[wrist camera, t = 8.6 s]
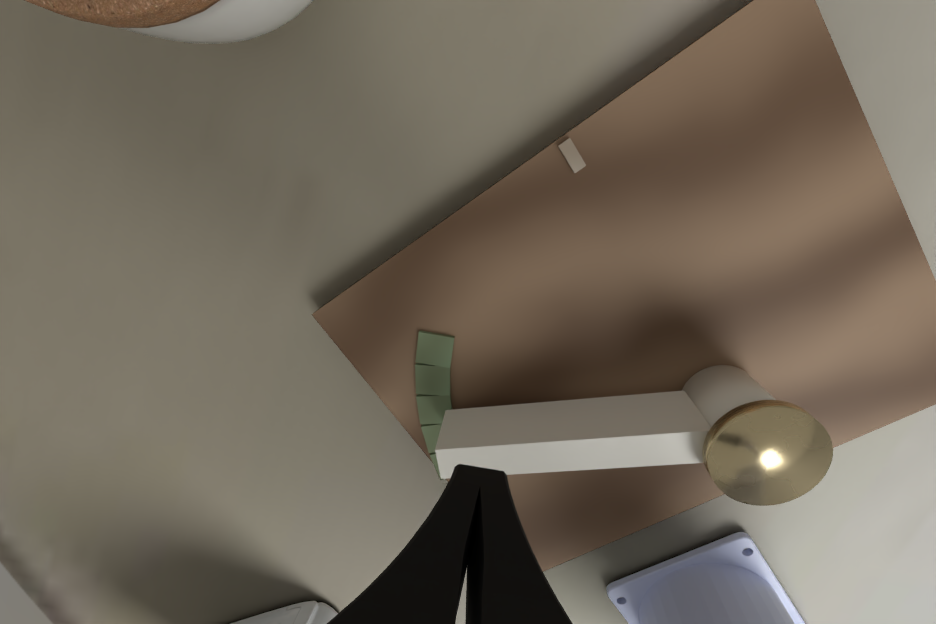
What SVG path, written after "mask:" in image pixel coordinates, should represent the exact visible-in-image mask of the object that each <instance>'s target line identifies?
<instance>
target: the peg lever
mask: <svg viewBox="0 0 936 624" xmlns="http://www.w3.org/2000/svg"><path fill="white" fill-rule="evenodd" d="M435 452H436V457H437V462H438V467H439V472H440V477H441V479H446V478H451V476H452V473H453V471H454V467H455V466H457V465H458V464H464V465H470V466H476V467H482V468H488V469H494V470H500V471H504V472H505V473H506V475H512V474H528V473H545V472H561V471H578V470H594V469H610V468H627V467H643V466H660V465H676V464H693V463H704V465H705V467H706V470H707V471H708V473H709V475H710V476H711V478H712V479H713V481H714V483H715V484H716V486H717V487H718V488H719V489H720V490H721V491H722V492H723V493H724V494H726V495H727V496H729V497H730V498H732V499H734V500H736V501H739V502H742V503H746V504H750V505H776V504H781V503H785V502H788V501H791V500H793V499H796V498H798V497H800V496H802V495H804V494H805V493H807V492H808V491H810V490H811V489H812V488H814V487H815V486H816V485H817V484H818V483H819V482H820V481H821V480H822V478H823V477H824V476H825V474H826V473H827V471H828V469H829V467H830V464H831V461H832V456H833V446H832V441H831V438H830V436H829V434H828V432H827V430H826V429H825V428H824V426H823V425H822V424H821V423H820V422H818V421H817V420H816V419H815V418H814V417H813V416H812V415H810V414H809V413H808V412H807V411H805V410H804V409H803V408H801V407H799V406H797V405H795V404H792V403H789V402H785V401H780V400H776V399H775V398H774V397H773V396H772V395H771V394H770V393H769V392H767V391H766V390H765V389H764V388H763V387H762V386H761V385H760V384H759V383H758V382H757V381H755V380H754V379H753V378H752V377H751V376H750V375H749V374H748V373H747V372H745V371H744V370H742V369H740V368H737V367H734V366H730V365H717V366H712V367H708V368H705V369H703V370H701V371H699V372H697V373H696V374H694V375H693V376H692V377H691V378H690V379H689V380H688V381H687V382H686V384H685V385H684V387H683V389H682V391H671V392H659V393H647V394H635V395H623V396H611V397H599V398H586V399H574V400H562V401H550V402H538V403H526V404H514V405H501V406H489V407H477V408H465V409H453V410H446V411H445V414H444V418H443V422H442V426H441V429H440V433H439V437H438V441H437V444H436V448H435Z"/></svg>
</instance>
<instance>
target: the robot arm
mask: <svg viewBox="0 0 936 624" xmlns="http://www.w3.org/2000/svg"><path fill="white" fill-rule="evenodd" d="M745 548H747V549H745ZM744 549H745V550H744ZM466 568H467V591H466V624H572V622H571V620H570V619H569V617H568V616H567V614H566V612H565V611H564V609H563V607H562V606H561V604H560V602H559V601H558V599H557V597H556V595H555V594H554V592H553V590H552V588H551V587H550V585H549V583H548V581H547V579H546V577H545V575H544V573H543V571H542V569H541V567H540V565H539V563H538V561H537V559H536V557H535V555H534V553H533V551H532V548H531V546H530V544H529V541H528V539H527V537H526V534H525V532H524V529H523V527H522V524H521V521H520V519H519V516H518V513H517V511H516V508H515V504H514V501H513V498H512V495H511V491H510V488H509V483H508V478H507V475H506V473H505V472H504V471H500V470H494V469H488V468H482V467H476V466H470V465H464V464H458V465H457V466H455V467H454V471H453V473H452V476H451V478H450V480H449V482H448V484H447V486H446V488H445V490H444V492H443V493H442V495H441V497H440V499H439V500H438V502H437V503H436V505H435V506H434V508H433V510H432V511H431V513H430V514H429V516H428V517H427V519H426V520H425V521H424V523H423V524H422V525H421V527H420V528H419V530H418V531H417V532H416V534H415V535H414V536H413V538H412V539H411V540H410V541H409V543H408V544H407V545H406V546H405V548H404V549H403V550H402V551H401V552H400V554H399V555H398V556H397V557H396V558H395V559H394V560H393V561H392V563H391V564H390V565H389V566H388V567H387V568H386V569H385V570H384V571H383V572H382V573H381V574H380V575H379V576H378V577H377V578H376V579H375V580H374V581H373V582H372V583H371V585H370V586H369V587H368V588H366V589H365V590H364V591H363V592H362V593H361V594H360V595H359V596H358V597H357V598H356V599H355V600H354V601H352V602H351V603H350V604H349V605H348V606H347V607H345V608H344V609H343V610H342V611H341V612H340V613H338V614H337V615H336V616H335V617H334V618H333V619H331V620H330V621H329V622H328V623H327V624H455V621H456V615H457V610H458V606H459V601H460V596H461V591H462V587H463V582H464V577H465V573H466ZM606 590H607V595H608V597H609V598H610V600H611V601H612V602H613V604H614V605H615V606H616V608H617V609H618V610H619V611H620V613H621V614H622V615H623V617H624V618H625V619H626V621H627V622H628V623H629V624H805V622H804V621H803V619H802V617H801V616H800V614H799V613H798V611H797V610H796V608H795V606H794V605H793V603H792V602H791V600H790V599H789V597H788V595H787V594H786V592H785V591H784V589H783V588H782V586H781V584H780V583H779V581H778V580H777V578H776V577H775V575H774V573H773V572H772V570H771V569H770V567H769V566H768V564H767V562H766V561H765V559H764V558H763V556H762V555H761V553H760V551H759V550H758V548H757V547H756V545H755V544H754V542H753V540H752V539H751V537H750V536H749V535H748V534H747V533H744V532H737V533H734V534H731V535H729V536H727V537H724V538H722V539H719V540H717V541H714V542H712V543H709V544H707V545H704V546H702V547H699V548H697V549H694V550H692V551H689V552H687V553H684V554H682V555H679V556H677V557H674V558H672V559H669V560H667V561H664V562H662V563H659V564H657V565H654V566H652V567H649V568H647V569H644V570H642V571H639V572H637V573H634V574H632V575H629V576H627V577H624V578H622V579H619V580H617V581H614V582H612V583H610V584H608V586H607V588H606ZM619 597H621V598H619Z"/></svg>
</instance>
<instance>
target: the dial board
mask: <svg viewBox="0 0 936 624" xmlns="http://www.w3.org/2000/svg"><path fill="white" fill-rule="evenodd" d="M312 316H313V317H314V318H315V319H316V320H317V322H318V323H319V324H320V325H321V327H322V328H323V329H324V330H325V331H326V333H327V334H328V335H329V336H330V338H331V339H332V340H333V341H334V343H335V344H336V345H337V346H338V347H339V349H340V350H341V351H342V352H343V354H344V355H345V356H346V357H347V358H348V360H349V361H350V362H351V363H352V365H353V366H354V367H355V368H356V369H357V371H358V372H359V373H360V374H361V376H362V377H363V378H364V379H365V381H366V382H367V383H368V384H369V385H370V387H371V388H372V389H373V390H374V392H375V393H376V394H377V395H378V396H379V398H380V399H381V400H382V401H383V403H384V404H385V405H386V406H387V407H388V409H389V410H390V411H391V412H392V414H393V415H394V416H395V417H396V419H397V420H398V421H399V422H400V423H401V425H402V426H403V427H404V428H405V430H406V431H407V432H408V433H409V434H410V436H411V437H412V438H413V439H414V441H415V442H416V443H417V444H418V445H419V447H420V448H421V449H422V450H423V452H424V453H425V454H426V455H427V457H428V458H429V459H430V460H431V461H432V463H433V464H434V466H435V468H436V471H437V473H438V475H439V477H440V472H439V467H438V462H437V457H436V452H435V448H436V444H437V441H438V437H439V433H440V429H441V426H442V422H443V418H444V414H445V411H446V410H453V409H465V408H477V407H489V406H501V405H514V404H526V403H538V402H550V401H562V400H574V399H586V398H599V397H611V396H623V395H635V394H647V393H659V392H671V391H682V389H683V387H684V385H685V384H686V382H687V381H688V380H689V379H690V378H691V377H692V376H693V375H694V374H696V373H697V372H699V371H701V370H703V369H705V368H708V367H712V366H717V365H730V366H734V367H737V368H740V369H742V370H744V371H745V372H747V373H748V374H749V375H750V376H751V377H752V378H753V379H754V380H755V381H757V382H758V383H759V384H760V385H761V386H762V387H763V388H764V389H765V390H766V391H767V392H769V393H770V394H771V395H772V396H773V397H774V398H775V399H776V400H780V401H785V402H789V403H792V404H795V405H797V406H799V407H801V408H803V409H804V410H805V411H807V412H808V413H809V414H810V415H812V416H813V417H814V418H815V419H816V420H817V421H818V422H820V423H821V424H822V425H823V426H824V428H825V429H826V430H827V432H828V434H829V436H830V438H831V441H832V446H833V448H834V447H836V446H839V445H841V444H843V443H846V442H848V441H850V440H853V439H855V438H857V437H860V436H862V435H864V434H867V433H869V432H872V431H874V430H876V429H879V428H881V427H883V426H886V425H888V424H890V423H893V422H895V421H897V420H900V419H902V418H904V417H907V416H909V415H911V414H914V413H916V412H918V411H921V410H923V409H925V408H928V407H930V406H932V405H935V404H936V281H935V278H934V276H933V274H932V271H931V269H930V267H929V264H928V262H927V260H926V257H925V255H924V253H923V250H922V248H921V246H920V243H919V241H918V239H917V236H916V234H915V232H914V229H913V227H912V225H911V222H910V220H909V218H908V215H907V213H906V211H905V208H904V206H903V204H902V202H901V199H900V197H899V195H898V192H897V190H896V188H895V185H894V183H893V181H892V178H891V176H890V174H889V171H888V169H887V167H886V164H885V162H884V160H883V157H882V155H881V153H880V150H879V148H878V146H877V143H876V141H875V139H874V136H873V134H872V132H871V129H870V127H869V125H868V122H867V120H866V118H865V115H864V113H863V111H862V108H861V106H860V104H859V101H858V99H857V97H856V94H855V92H854V90H853V87H852V85H851V83H850V81H849V78H848V76H847V74H846V71H845V69H844V67H843V64H842V62H841V60H840V57H839V55H838V53H837V50H836V48H835V46H834V43H833V41H832V39H831V36H830V34H829V32H828V29H827V27H826V25H825V22H824V20H823V18H822V15H821V13H820V11H819V8H818V6H817V4H816V1H815V0H753V1H751V2H750V3H748V4H747V5H746V6H744V7H743V8H741V9H740V10H739V11H737V12H736V13H734V14H733V15H732V16H730V17H729V18H727V19H726V20H725V21H723V22H722V23H720V24H719V25H718V26H716V27H715V28H713V29H712V30H710V31H709V32H708V33H706V34H705V35H703V36H702V37H701V38H699V39H698V40H696V41H695V42H694V43H692V44H691V45H689V46H688V47H687V48H685V49H684V50H682V51H681V52H680V53H678V54H677V55H675V56H674V57H673V58H671V59H670V60H668V61H667V62H665V63H664V64H663V65H661V66H660V67H658V68H657V69H656V70H654V71H653V72H651V73H650V74H649V75H647V76H646V77H644V78H643V79H642V80H640V81H639V82H637V83H636V84H635V85H633V86H632V87H630V88H629V89H628V90H626V91H625V92H623V93H622V94H620V95H619V96H618V97H616V98H615V99H613V100H612V101H611V102H609V103H608V104H606V105H605V106H604V107H602V108H601V109H599V110H598V111H597V112H595V113H594V114H592V115H591V116H590V117H588V118H587V119H585V120H584V121H583V122H581V123H580V124H578V125H577V126H575V127H574V128H573V129H571V130H570V131H568V132H567V133H566V134H564V135H563V136H561V137H560V138H559V139H557V140H556V141H554V142H553V143H552V144H550V145H549V146H547V147H546V148H545V149H543V150H542V151H540V152H539V153H538V154H536V155H535V156H533V157H532V158H530V159H529V160H528V161H526V162H525V163H523V164H522V165H521V166H519V167H518V168H516V169H515V170H514V171H512V172H511V173H509V174H508V175H507V176H505V177H504V178H502V179H501V180H500V181H498V182H497V183H495V184H494V185H493V186H491V187H490V188H488V189H487V190H485V191H484V192H483V193H481V194H480V195H478V196H477V197H476V198H474V199H473V200H471V201H470V202H469V203H467V204H466V205H464V206H463V207H462V208H460V209H459V210H457V211H456V212H455V213H453V214H452V215H450V216H449V217H448V218H446V219H445V220H443V221H442V222H440V223H439V224H438V225H436V226H435V227H433V228H432V229H431V230H429V231H428V232H426V233H425V234H424V235H422V236H421V237H419V238H418V239H417V240H415V241H414V242H412V243H411V244H410V245H408V246H407V247H405V248H404V249H403V250H401V251H400V252H398V253H397V254H395V255H394V256H393V257H391V258H390V259H388V260H387V261H386V262H384V263H383V264H381V265H380V266H379V267H377V268H376V269H374V270H373V271H372V272H370V273H369V274H367V275H366V276H365V277H363V278H362V279H360V280H359V281H358V282H356V283H355V284H353V285H352V286H350V287H349V288H348V289H346V290H345V291H343V292H342V293H341V294H339V295H338V296H336V297H335V298H334V299H332V300H331V301H329V302H328V303H327V304H325V305H324V306H322V307H321V308H320V309H318V310H317V311H316V312H314V313H313V314H312ZM507 478H508V483H509V488H510V491H511V495H512V498H513V501H514V504H515V508H516V511H517V513H518V516H519V519H520V521H521V524H522V527H523V529H524V532H525V534H526V537H527V539H528V541H529V544H530V546H531V548H532V551H533V553H534V555H535V557H536V559H537V561H538V563H539V565H540V567H541V569H542V571H545V570H548V569H550V568H553V567H555V566H557V565H560V564H562V563H564V562H567V561H569V560H571V559H574V558H576V557H578V556H581V555H583V554H585V553H588V552H590V551H592V550H595V549H597V548H599V547H602V546H604V545H606V544H609V543H611V542H614V541H616V540H618V539H621V538H623V537H625V536H628V535H630V534H632V533H635V532H637V531H639V530H642V529H644V528H646V527H649V526H651V525H653V524H656V523H658V522H660V521H663V520H665V519H667V518H670V517H672V516H674V515H677V514H679V513H682V512H684V511H686V510H689V509H691V508H693V507H696V506H698V505H700V504H703V503H705V502H707V501H710V500H712V499H714V498H717V497H719V496H721V495H724V493H723V492H722V491H721V490H720V489H719V488H718V487H717V486H716V484H715V483H714V481H713V479H712V478H711V476H710V475H709V473H708V471H707V470H706V467H705V465H704V463H693V464H676V465H660V466H643V467H627V468H610V469H594V470H578V471H561V472H545V473H528V474H512V475H507ZM440 480H442V479H441V477H440ZM446 480H447V481H448V482H449V480H450V478H446Z"/></svg>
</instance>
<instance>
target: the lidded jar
mask: <svg viewBox="0 0 936 624" xmlns="http://www.w3.org/2000/svg"><path fill="white" fill-rule="evenodd" d="M25 1H27V2H30V3H32V4H35V5H38V6H40V7H43V8H45V9H48V10H51V11H53V12H56V13H58V14H61V15H64V16H67V17H71V18H74V19H77V20H81V21H86V22H91V23H96V24H101V25H106V26H111V27H116V28H120V29H124V30H128V31H131V32H135V33H139V34H143V35H147V36H152V37H157V38H162V39H167V40H172V41H179V42H186V43H209V44H218V43H233V42H239V41H245V40H250V39H254V38H256V37H259V36H261V35H264V34H266V33H269V32H272V31H274V30H276V29H278V28H280V27H281V26H283V25H284V24H286V23H288V22H289V21H291V20H292V19H294V18H296V17H297V16H298V15H299V14H300V13H301V12H302V11H303V10H304V9H305V8H306V7H307V6H309V5H310V4H311V3H312V1H313V0H25Z"/></svg>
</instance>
